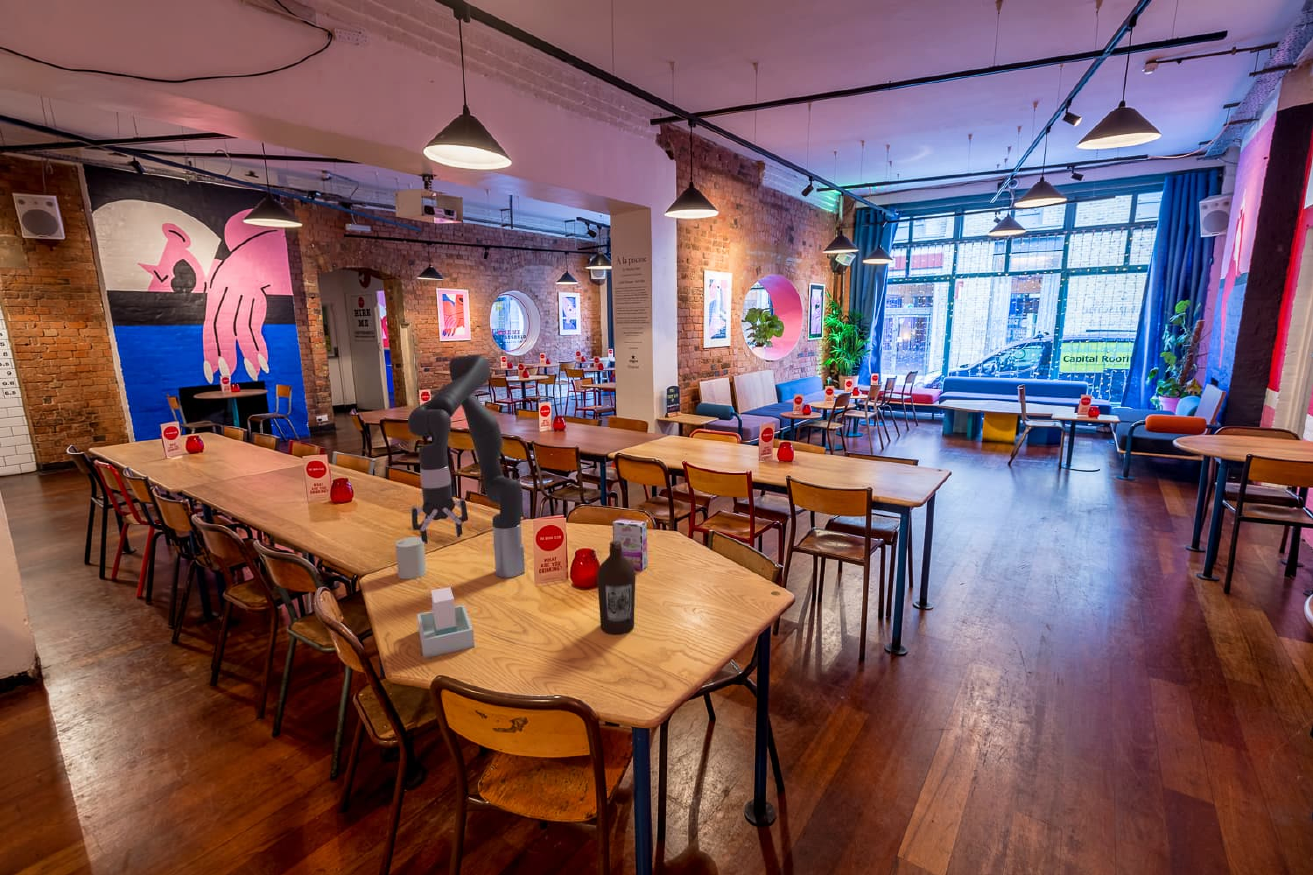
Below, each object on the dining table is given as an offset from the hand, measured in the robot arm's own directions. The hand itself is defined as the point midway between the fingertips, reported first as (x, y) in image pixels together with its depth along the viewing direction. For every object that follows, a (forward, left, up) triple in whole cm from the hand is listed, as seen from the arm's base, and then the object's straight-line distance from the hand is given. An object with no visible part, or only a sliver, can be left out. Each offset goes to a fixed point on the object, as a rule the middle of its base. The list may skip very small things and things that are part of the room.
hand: (442, 539), depth 164 cm
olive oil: (-42, +22, -26) cm, 54 cm away
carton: (+2, +7, -25) cm, 26 cm away
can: (+7, -43, -26) cm, 51 cm away
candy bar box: (-62, -15, -26) cm, 69 cm away
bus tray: (+2, +7, -26) cm, 27 cm away
